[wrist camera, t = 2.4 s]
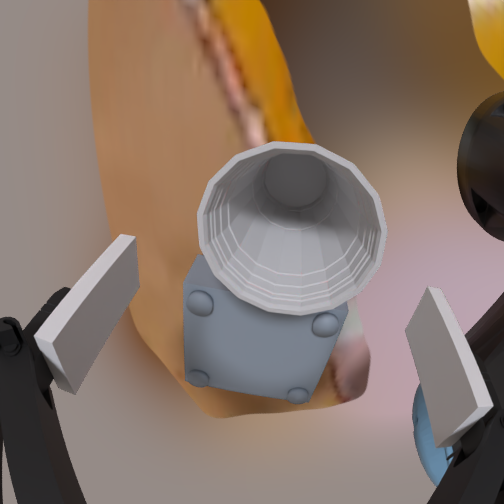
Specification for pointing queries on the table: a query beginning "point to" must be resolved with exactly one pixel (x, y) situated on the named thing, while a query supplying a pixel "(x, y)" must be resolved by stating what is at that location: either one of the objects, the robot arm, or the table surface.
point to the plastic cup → (292, 228)
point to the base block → (252, 341)
